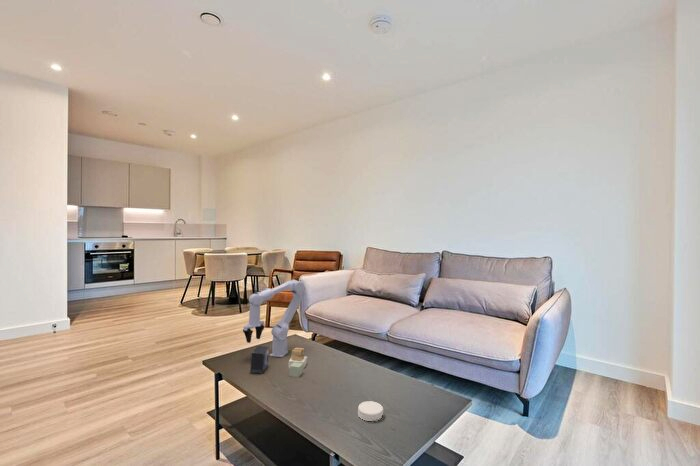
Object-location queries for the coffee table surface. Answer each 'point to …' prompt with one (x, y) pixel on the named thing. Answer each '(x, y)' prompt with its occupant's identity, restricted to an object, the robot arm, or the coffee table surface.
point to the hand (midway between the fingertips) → (253, 340)
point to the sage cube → (296, 369)
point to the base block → (298, 362)
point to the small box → (259, 359)
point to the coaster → (370, 410)
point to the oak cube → (297, 354)
